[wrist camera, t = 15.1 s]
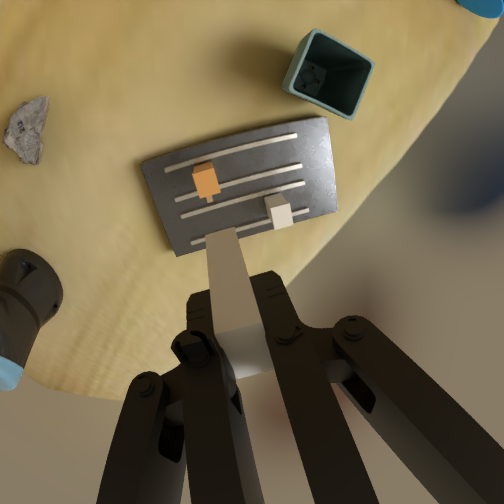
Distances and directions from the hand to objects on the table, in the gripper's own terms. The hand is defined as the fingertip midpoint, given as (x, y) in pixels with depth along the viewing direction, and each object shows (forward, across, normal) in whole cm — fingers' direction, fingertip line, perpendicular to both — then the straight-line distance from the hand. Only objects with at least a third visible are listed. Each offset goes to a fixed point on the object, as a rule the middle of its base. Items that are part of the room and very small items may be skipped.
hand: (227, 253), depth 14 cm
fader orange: (+24, -1, -2) cm, 24 cm away
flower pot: (+27, +16, +8) cm, 32 cm away
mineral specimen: (+27, -23, +14) cm, 38 cm away
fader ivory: (+24, +7, -9) cm, 27 cm away
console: (+26, +4, -6) cm, 27 cm away
